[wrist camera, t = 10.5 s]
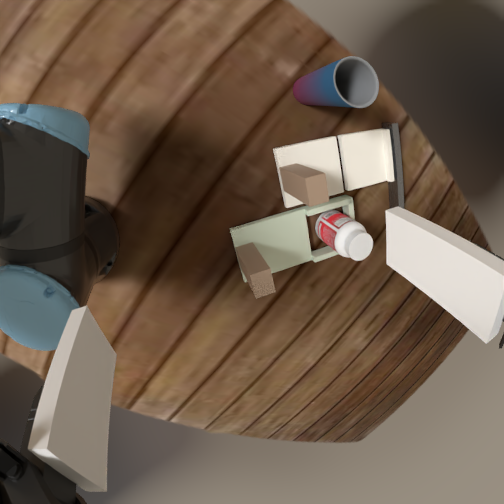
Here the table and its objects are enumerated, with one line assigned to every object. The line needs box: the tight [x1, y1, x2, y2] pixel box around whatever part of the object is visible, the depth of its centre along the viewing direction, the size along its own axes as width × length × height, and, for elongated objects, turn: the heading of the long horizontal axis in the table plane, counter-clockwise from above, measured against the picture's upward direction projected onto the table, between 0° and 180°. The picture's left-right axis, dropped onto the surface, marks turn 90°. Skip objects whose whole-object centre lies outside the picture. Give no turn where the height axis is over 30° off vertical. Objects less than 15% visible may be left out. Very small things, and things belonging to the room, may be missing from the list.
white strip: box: [337, 128, 394, 191], centre depth 49 cm, size 10×10×2 cm
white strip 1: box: [273, 136, 344, 208], centre depth 44 cm, size 11×10×11 cm
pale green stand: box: [230, 195, 355, 299], centre depth 48 cm, size 22×10×11 cm, turn 103°
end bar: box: [382, 122, 404, 209], centre depth 53 cm, size 2×23×3 cm, turn 13°
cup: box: [293, 56, 379, 108], centre depth 37 cm, size 7×7×15 cm
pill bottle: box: [315, 210, 373, 261], centre depth 49 cm, size 6×6×11 cm
